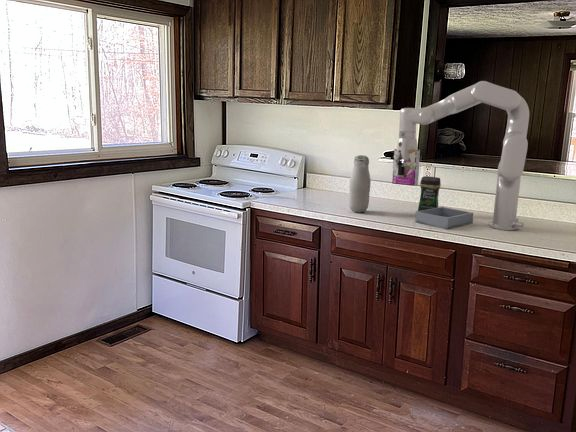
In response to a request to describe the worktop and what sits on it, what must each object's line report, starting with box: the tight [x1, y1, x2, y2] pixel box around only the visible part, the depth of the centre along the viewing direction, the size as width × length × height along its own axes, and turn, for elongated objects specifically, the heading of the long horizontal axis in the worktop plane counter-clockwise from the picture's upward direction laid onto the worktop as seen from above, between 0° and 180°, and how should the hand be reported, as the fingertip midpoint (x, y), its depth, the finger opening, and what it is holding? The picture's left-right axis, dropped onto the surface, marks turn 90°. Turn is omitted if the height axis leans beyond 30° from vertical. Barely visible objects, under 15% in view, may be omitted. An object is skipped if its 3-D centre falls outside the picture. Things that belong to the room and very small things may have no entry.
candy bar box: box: [391, 148, 421, 186], centre depth 256 cm, size 11×5×16 cm, turn 57°
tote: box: [414, 206, 474, 230], centre depth 253 cm, size 17×20×5 cm
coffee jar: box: [417, 175, 442, 211], centre depth 270 cm, size 10×8×19 cm
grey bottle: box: [348, 154, 372, 213], centre depth 270 cm, size 10×10×28 cm
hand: (405, 174), depth 257 cm, fingers closed on candy bar box, 6 cm apart
